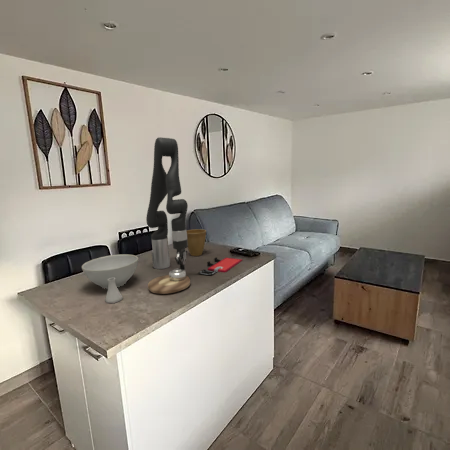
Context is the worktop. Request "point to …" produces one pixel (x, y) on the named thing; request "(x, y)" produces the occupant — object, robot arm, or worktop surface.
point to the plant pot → (196, 241)
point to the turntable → (167, 285)
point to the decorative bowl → (110, 269)
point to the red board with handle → (220, 265)
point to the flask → (113, 292)
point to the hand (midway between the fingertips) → (182, 271)
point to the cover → (177, 275)
